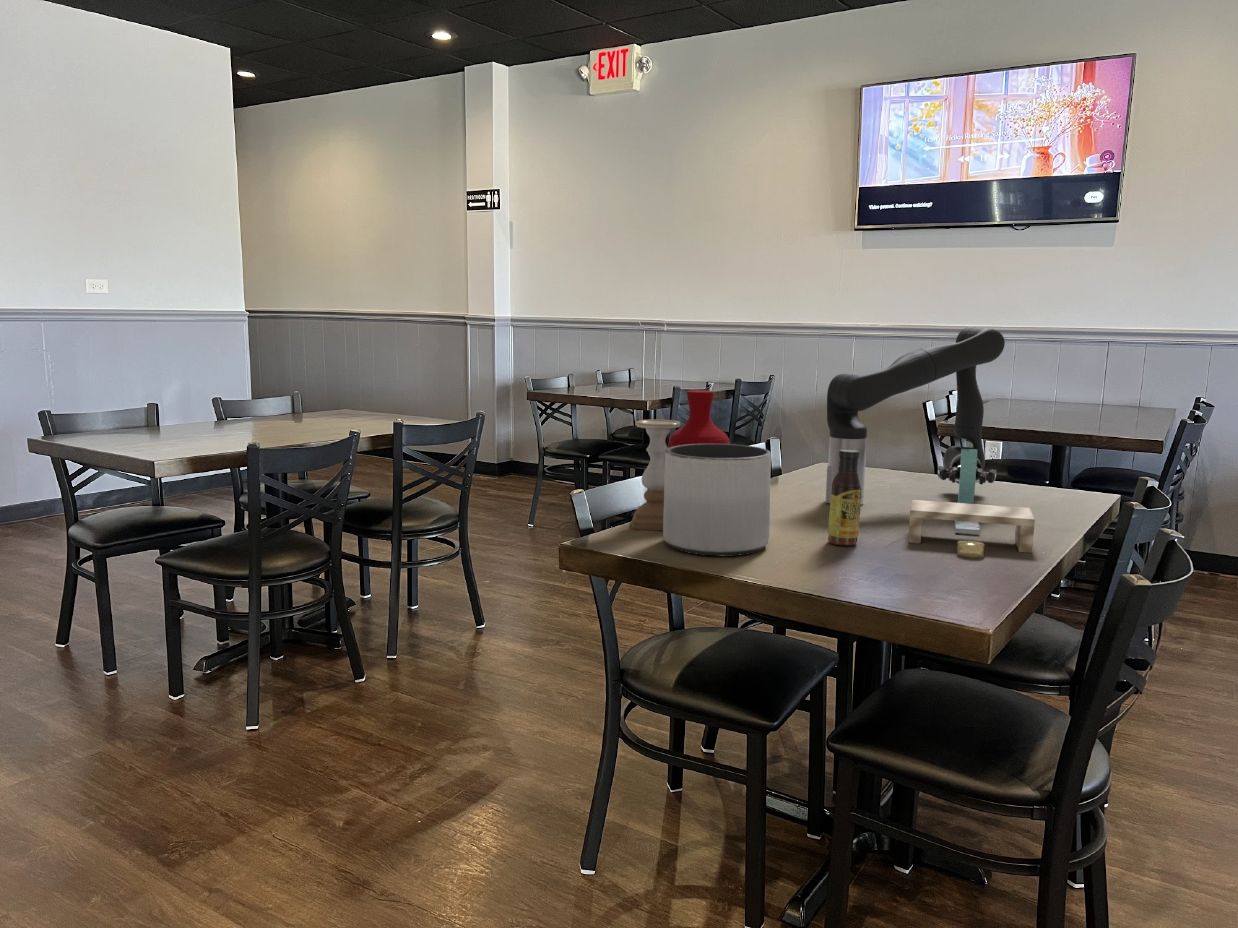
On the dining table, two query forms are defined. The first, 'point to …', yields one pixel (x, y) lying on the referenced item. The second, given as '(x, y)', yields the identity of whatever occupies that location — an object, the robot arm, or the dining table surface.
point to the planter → (717, 498)
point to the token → (970, 549)
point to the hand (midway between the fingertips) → (967, 479)
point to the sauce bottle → (845, 501)
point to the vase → (699, 422)
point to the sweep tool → (967, 489)
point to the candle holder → (654, 475)
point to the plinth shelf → (974, 518)
